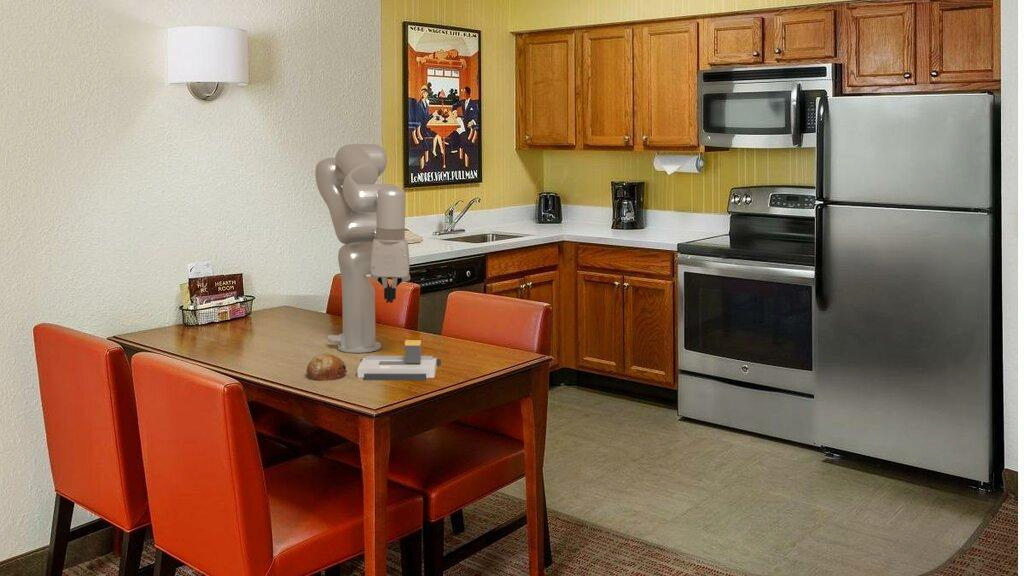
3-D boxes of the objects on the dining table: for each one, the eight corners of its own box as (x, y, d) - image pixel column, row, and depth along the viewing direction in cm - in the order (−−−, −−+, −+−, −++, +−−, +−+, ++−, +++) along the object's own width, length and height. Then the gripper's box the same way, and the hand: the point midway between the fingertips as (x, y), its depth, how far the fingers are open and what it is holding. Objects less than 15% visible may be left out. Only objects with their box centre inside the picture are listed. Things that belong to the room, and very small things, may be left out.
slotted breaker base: (357, 377, 252) (357, 365, 252) (363, 366, 264) (363, 355, 264) (434, 377, 253) (434, 365, 253) (436, 366, 265) (436, 355, 264)
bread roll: (316, 385, 259) (302, 359, 257) (351, 368, 259) (337, 342, 257) (312, 395, 249) (298, 367, 248) (348, 378, 249) (334, 350, 248)
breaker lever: (405, 363, 257) (404, 342, 256) (405, 360, 260) (405, 340, 259) (420, 363, 257) (420, 342, 256) (421, 360, 260) (421, 340, 259)
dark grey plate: (352, 380, 250) (352, 374, 250) (361, 363, 267) (361, 358, 267) (437, 380, 250) (437, 375, 250) (440, 364, 268) (440, 359, 268)
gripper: (360, 235, 253) (360, 303, 257) (417, 237, 254) (416, 305, 257) (364, 231, 261) (364, 297, 264) (419, 233, 261) (418, 299, 265)
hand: (389, 301), depth 261 cm, fingers closed
